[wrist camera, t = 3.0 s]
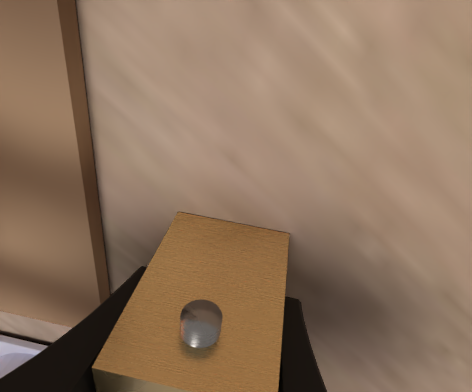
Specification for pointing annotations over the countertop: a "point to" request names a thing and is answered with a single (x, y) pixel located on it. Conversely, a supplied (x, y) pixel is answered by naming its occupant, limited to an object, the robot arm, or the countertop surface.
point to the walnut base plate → (47, 169)
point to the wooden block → (202, 313)
